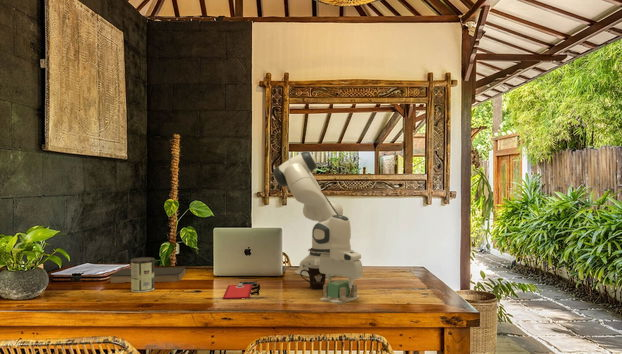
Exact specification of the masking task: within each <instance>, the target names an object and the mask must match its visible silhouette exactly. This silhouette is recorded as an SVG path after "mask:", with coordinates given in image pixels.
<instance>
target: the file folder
mask: <svg viewBox="0 0 622 354" xmlns="http://www.w3.org/2000/svg"><path fill="white" fill-rule="evenodd" d="M186 273H187V267H185V266H184V267H181V266H180V267H154V283H155V282H156V283H160V282H161V283H162V282H163V283H164V282H180V281H181V279H182V278H183V277H184V276H185V274H186ZM125 282H131V267H130V268H129V267H128V268H127V267H126V268H125V267H124V268H120V269H119V270H117V271H115V272H113V273H112V274H111V275H110V276H109V283H110V284H117V283H118V284H120V283H123V284H124V283H125ZM125 284H126V283H125Z"/></svg>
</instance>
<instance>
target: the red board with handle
mask: <svg viewBox="0 0 622 354" xmlns="http://www.w3.org/2000/svg"><path fill="white" fill-rule="evenodd" d="M255 285H256V286H255ZM252 286H253V287H252ZM251 290H252V291H251ZM259 290H260V291H261V284H260V283H258V281H257V280H256V281H255V280H254V281H239V282H238V284H228V285H227V288H226V290H225V292H224V294H223V296H222V300H243V299H242V298H251V295H250V294H253V295H256V296H260V291H259Z"/></svg>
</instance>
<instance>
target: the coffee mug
mask: <svg viewBox="0 0 622 354" xmlns="http://www.w3.org/2000/svg"><path fill="white" fill-rule="evenodd" d="M319 266H320V265H311V266H308V269H309V271H308V270H305V269H304V270H302V271H301V272H300V274H299V275H300V277H301V278H302V279H303V280H305V281H306V282H308V283H309V286H310V289H311V290H312V291H313V290H314V291H315V290H316V291H318V290H319V291H321V290H323V285H326V279H327V277H326V274H322V273H320V271H319ZM303 271H307V272H308V274H309V277H308V278H309V280H308V279H307V278H305V276H304V275H301V273H302V272H303Z"/></svg>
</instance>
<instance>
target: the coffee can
mask: <svg viewBox="0 0 622 354" xmlns="http://www.w3.org/2000/svg"><path fill="white" fill-rule="evenodd" d="M130 268H131V283H130V291H131V292H132V293H147V292H151V291H154V290H155V282H154V268H155V257H152V256H151V257H150V256H146V257H134V258H132V259H130Z"/></svg>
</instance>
